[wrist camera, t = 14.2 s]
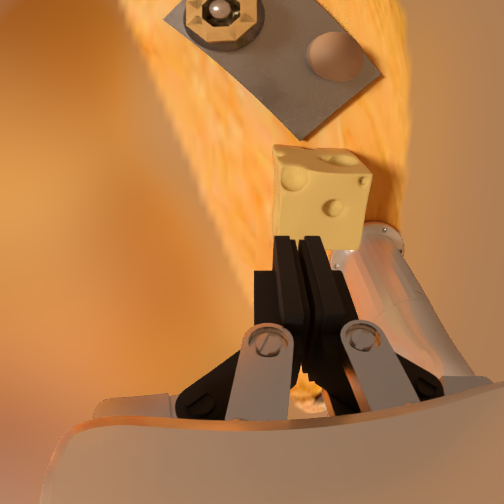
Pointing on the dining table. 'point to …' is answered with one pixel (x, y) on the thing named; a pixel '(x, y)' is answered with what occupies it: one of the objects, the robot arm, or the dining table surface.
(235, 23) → the collar
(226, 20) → the hub
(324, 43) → the brown rounded dome
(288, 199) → the cheese
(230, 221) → the dining table surface
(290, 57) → the plate
